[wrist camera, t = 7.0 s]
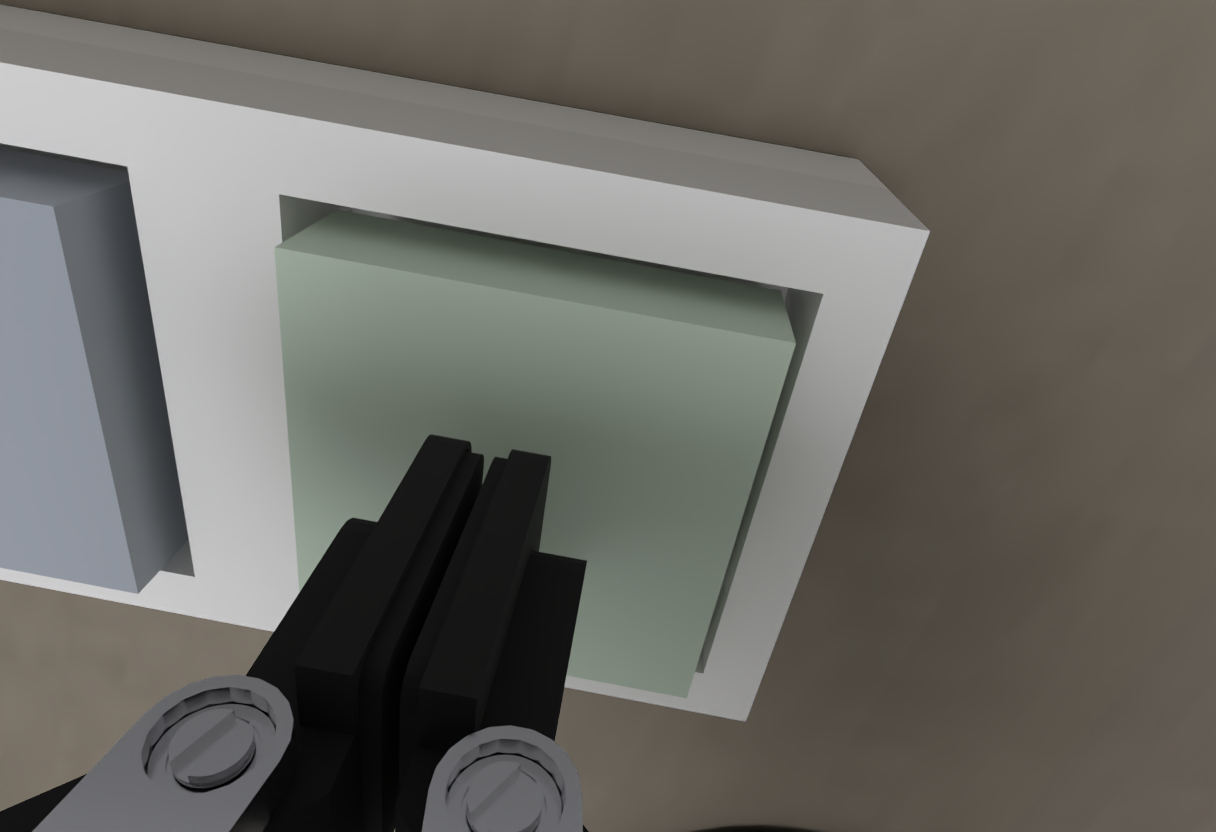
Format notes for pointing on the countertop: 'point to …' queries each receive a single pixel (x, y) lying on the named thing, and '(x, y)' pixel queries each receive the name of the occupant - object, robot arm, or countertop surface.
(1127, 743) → the countertop surface
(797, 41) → the countertop surface
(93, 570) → the slate key
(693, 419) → the sage key
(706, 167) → the keypad
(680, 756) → the countertop surface
